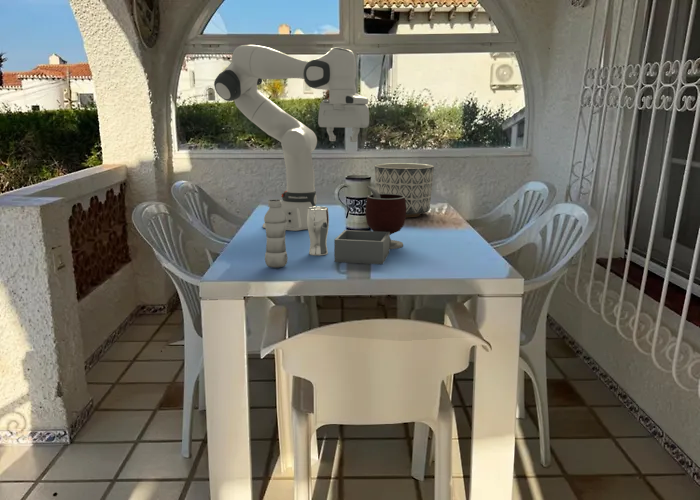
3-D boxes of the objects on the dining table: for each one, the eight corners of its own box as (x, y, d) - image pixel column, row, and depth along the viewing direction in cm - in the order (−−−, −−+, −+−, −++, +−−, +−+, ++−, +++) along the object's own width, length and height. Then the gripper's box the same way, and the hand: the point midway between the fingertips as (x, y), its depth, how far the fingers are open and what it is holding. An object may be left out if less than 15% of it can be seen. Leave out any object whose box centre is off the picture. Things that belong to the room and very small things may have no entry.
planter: (433, 210, 271) (434, 163, 266) (430, 220, 246) (432, 168, 241) (377, 209, 276) (378, 162, 270) (370, 218, 251) (370, 167, 246)
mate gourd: (413, 245, 201) (415, 187, 197) (387, 251, 192) (388, 191, 187) (380, 238, 212) (381, 183, 207) (353, 244, 202) (353, 187, 198)
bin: (334, 261, 179) (334, 239, 177) (344, 250, 193) (344, 230, 191) (382, 264, 176) (383, 241, 174) (389, 252, 190) (389, 231, 188)
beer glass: (326, 256, 185) (325, 210, 182) (305, 255, 186) (304, 209, 183) (331, 251, 192) (331, 206, 188) (311, 250, 193) (310, 205, 190)
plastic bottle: (265, 264, 175) (263, 198, 171) (288, 264, 176) (286, 198, 171) (264, 270, 169) (262, 202, 164) (287, 269, 170) (286, 201, 165)
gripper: (313, 99, 197) (314, 140, 200) (359, 98, 184) (359, 142, 187) (326, 99, 201) (326, 140, 204) (372, 98, 188) (371, 142, 191)
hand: (342, 141), depth 195 cm, fingers open, 8 cm apart
